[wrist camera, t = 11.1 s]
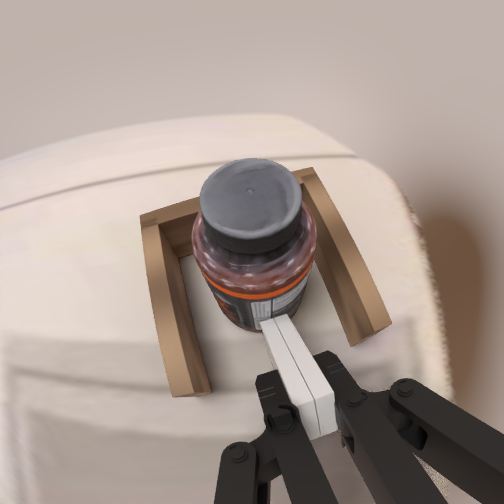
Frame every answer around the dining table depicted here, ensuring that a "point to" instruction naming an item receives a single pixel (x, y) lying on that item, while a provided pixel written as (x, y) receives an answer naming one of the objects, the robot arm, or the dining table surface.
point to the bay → (180, 244)
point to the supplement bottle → (254, 240)
